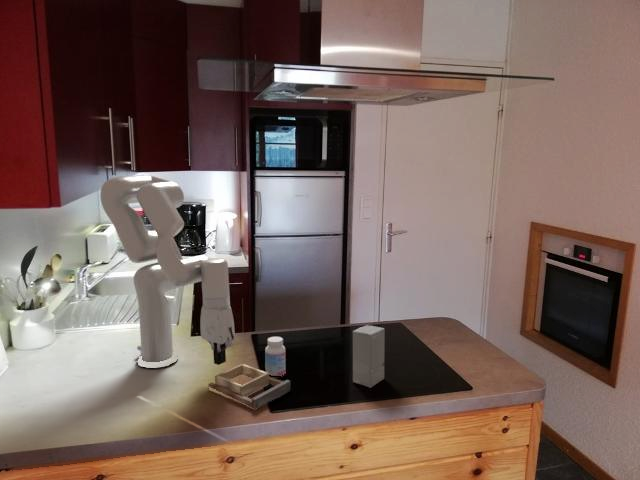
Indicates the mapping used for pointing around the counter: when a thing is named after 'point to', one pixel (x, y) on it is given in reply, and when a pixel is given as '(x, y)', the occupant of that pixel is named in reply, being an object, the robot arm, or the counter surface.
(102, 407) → the counter surface
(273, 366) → the pill bottle
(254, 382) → the crate
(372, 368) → the skincare box
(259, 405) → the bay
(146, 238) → the robot arm
